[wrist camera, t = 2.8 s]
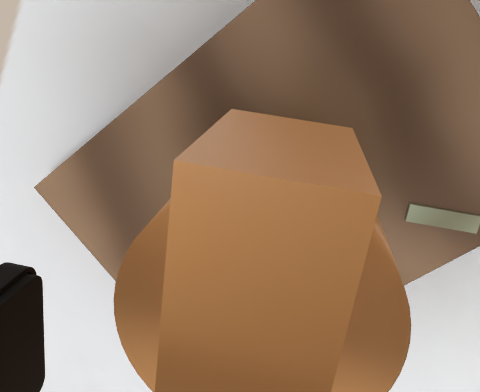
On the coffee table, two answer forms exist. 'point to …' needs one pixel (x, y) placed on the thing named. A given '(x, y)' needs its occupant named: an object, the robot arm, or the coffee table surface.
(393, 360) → the orange bar knob
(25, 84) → the coffee table surface
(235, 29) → the post board
